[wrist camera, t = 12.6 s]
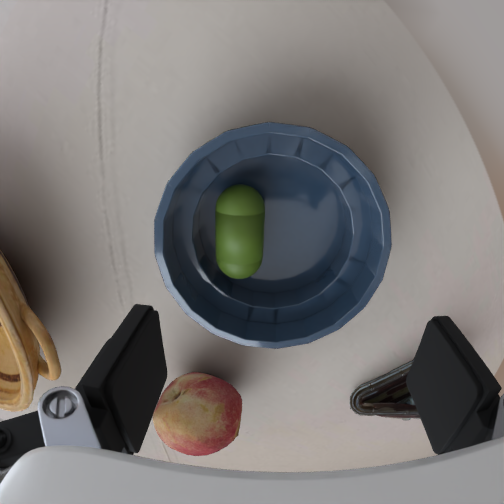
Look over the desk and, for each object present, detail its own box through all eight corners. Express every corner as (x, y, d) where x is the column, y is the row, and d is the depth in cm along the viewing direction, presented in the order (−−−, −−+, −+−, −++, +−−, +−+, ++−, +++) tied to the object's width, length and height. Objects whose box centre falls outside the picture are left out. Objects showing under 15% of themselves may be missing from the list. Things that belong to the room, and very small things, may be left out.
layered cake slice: (357, 424, 31) (446, 455, 23) (342, 408, 27) (450, 446, 19) (391, 357, 35) (477, 379, 26) (382, 330, 31) (484, 354, 23)
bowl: (220, 94, 19) (207, 83, 15) (398, 182, 21) (429, 195, 16) (152, 268, 24) (130, 299, 20) (311, 332, 26) (319, 371, 21)
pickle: (264, 181, 21) (217, 180, 21) (267, 190, 18) (212, 188, 18) (261, 267, 23) (218, 266, 23) (262, 287, 21) (213, 286, 20)
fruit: (235, 349, 27) (225, 418, 20) (253, 404, 30) (249, 468, 22) (156, 357, 28) (130, 419, 20) (182, 409, 30) (167, 468, 23)
